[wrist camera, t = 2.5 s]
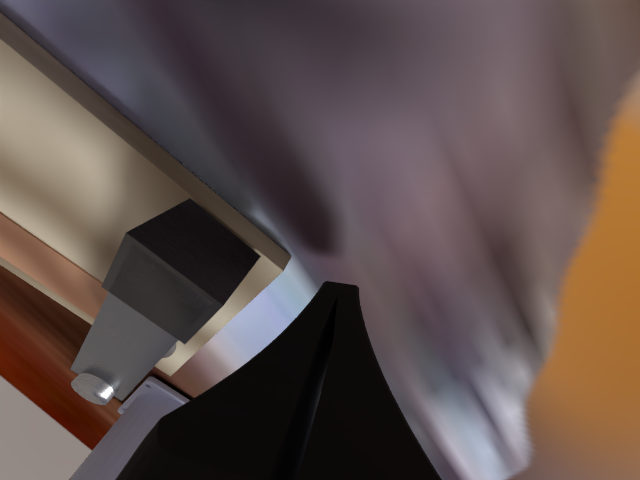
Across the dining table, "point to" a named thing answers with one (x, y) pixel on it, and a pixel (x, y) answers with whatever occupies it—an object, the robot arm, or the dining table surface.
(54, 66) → the board
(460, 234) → the dining table surface
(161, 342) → the leg
